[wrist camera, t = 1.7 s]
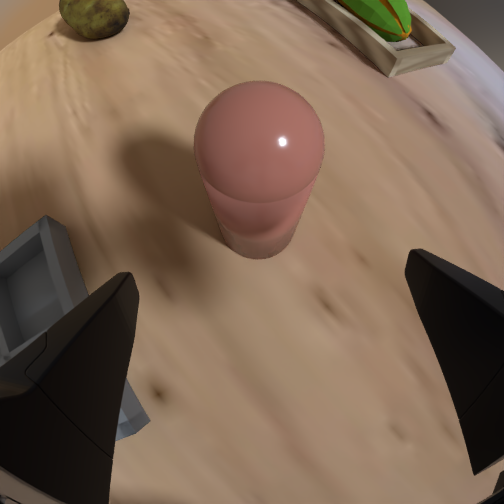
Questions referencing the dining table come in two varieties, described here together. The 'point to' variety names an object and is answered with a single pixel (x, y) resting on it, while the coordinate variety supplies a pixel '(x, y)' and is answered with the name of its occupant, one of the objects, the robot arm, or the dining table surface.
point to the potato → (95, 16)
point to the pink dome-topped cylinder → (258, 163)
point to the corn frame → (377, 48)
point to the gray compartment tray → (47, 299)
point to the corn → (382, 17)
